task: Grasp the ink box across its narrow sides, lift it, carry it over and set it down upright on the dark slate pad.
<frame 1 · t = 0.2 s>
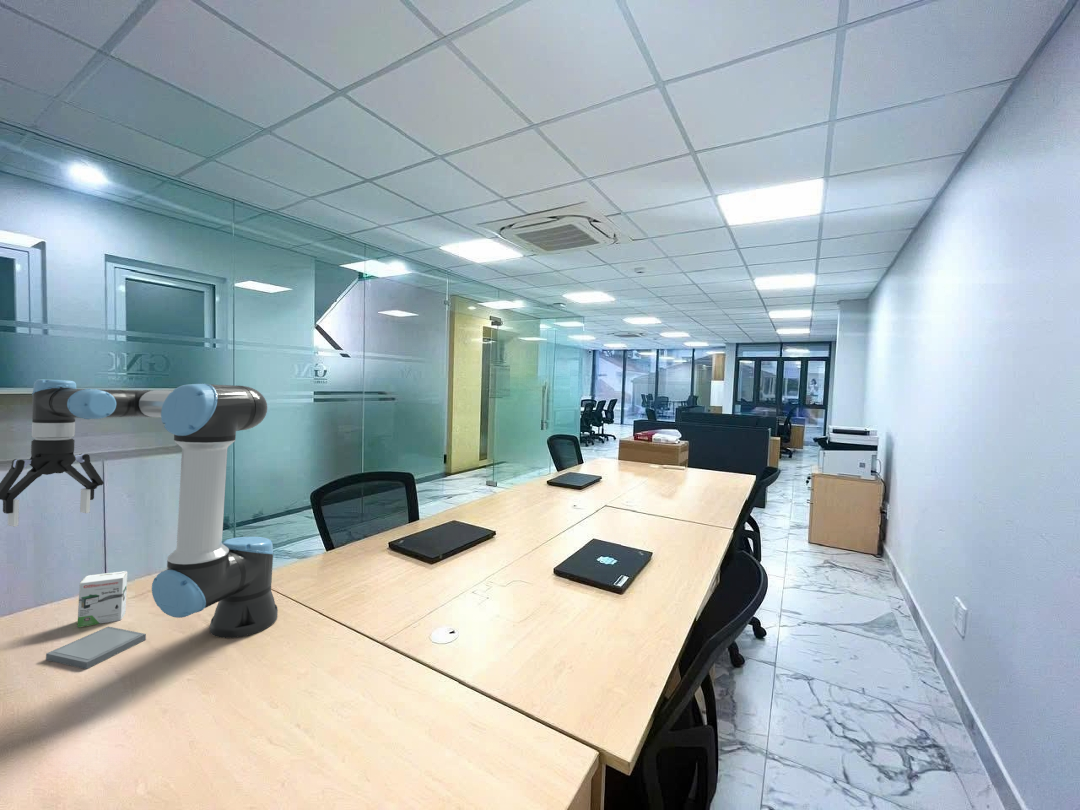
hand: (51, 518, 113), 27 cm above the table, fingers open, 13 cm apart
slate pad: (98, 649, 103), on the table
ink box: (102, 620, 115), on the table
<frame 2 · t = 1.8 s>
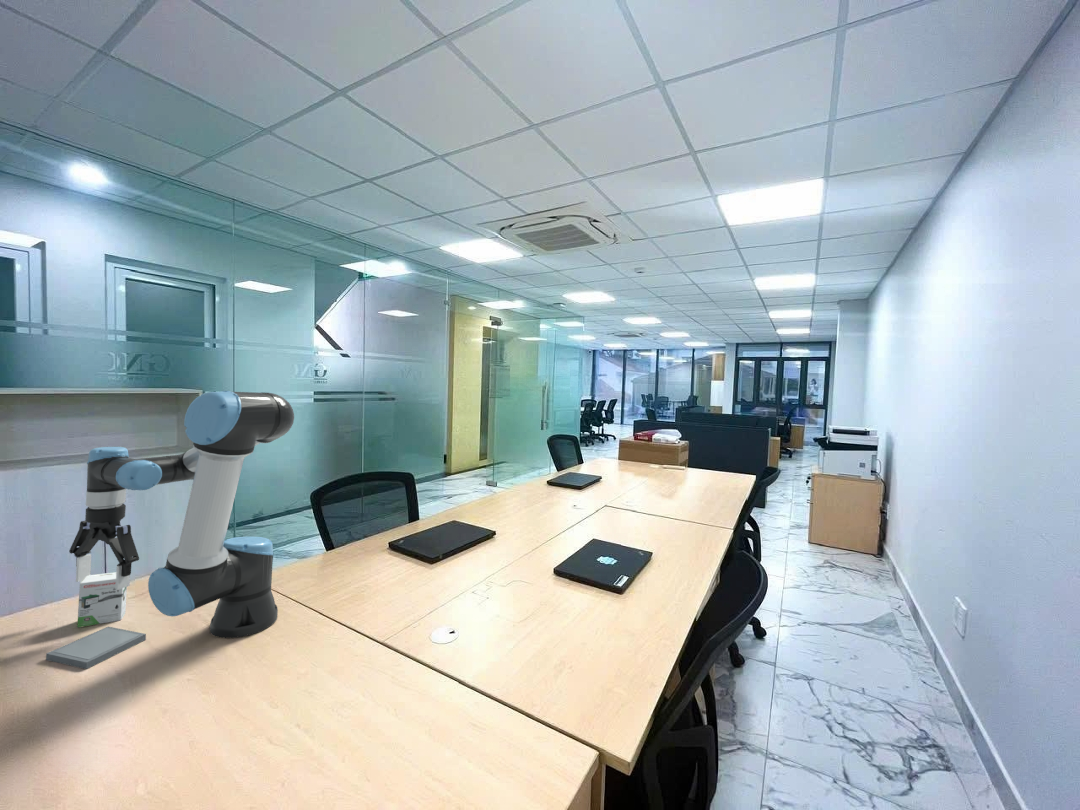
hand: (102, 583, 115), 10 cm above the table, fingers open, 13 cm apart
nothing on the table moved.
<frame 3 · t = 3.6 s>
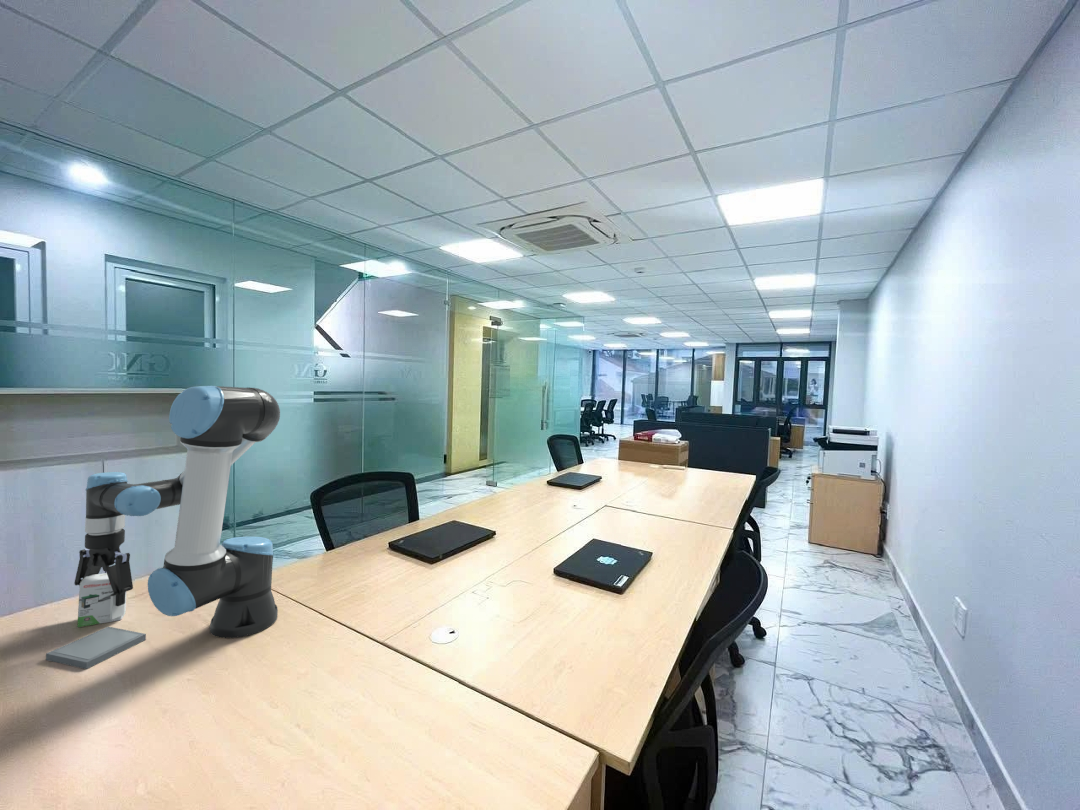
hand: (102, 614, 115), 2 cm above the table, fingers closed on ink box, 9 cm apart
ink box: (102, 620, 115), on the table, touching gripper
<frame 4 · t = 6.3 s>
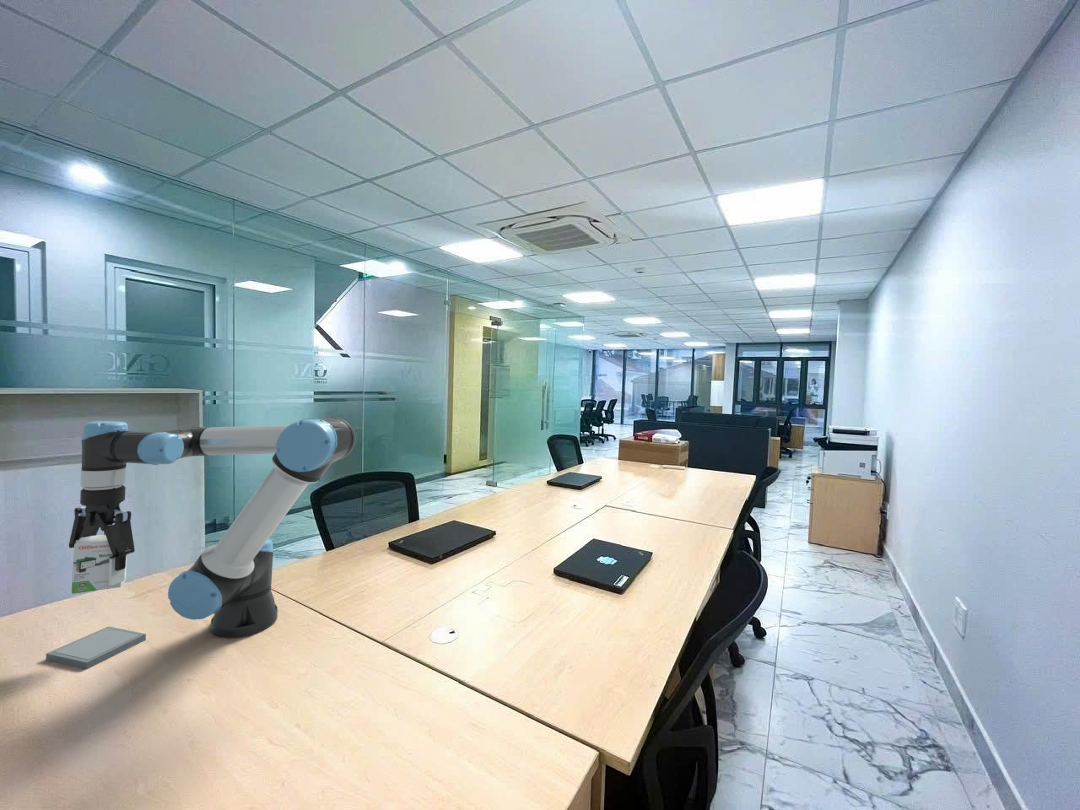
hand: (100, 580, 102), 17 cm above the table, fingers closed on ink box, 9 cm apart
ink box: (99, 587, 102), point 15 cm above the table, touching gripper
when the fingers open (5 cm above the table, at t = 9.2 s): ink box drops 2 cm, resting on slate pad.
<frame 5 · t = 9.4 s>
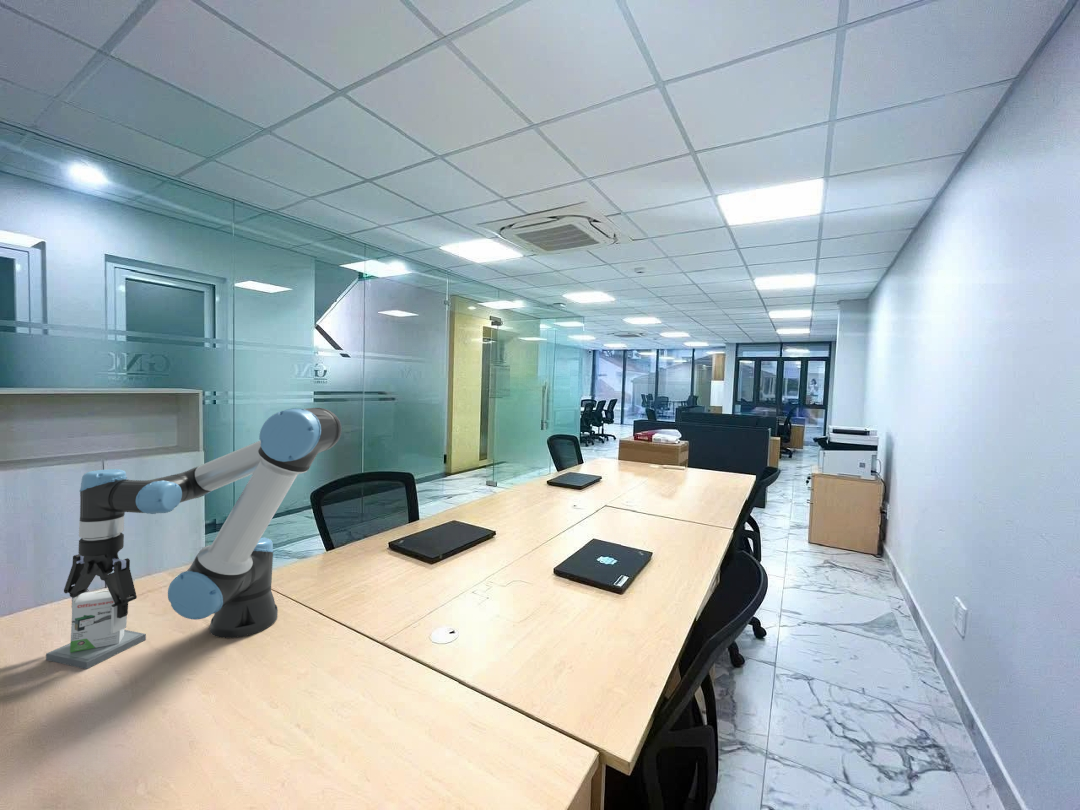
hand: (98, 626, 103), 6 cm above the table, fingers open, 11 cm apart
ink box: (98, 643, 103), point 1 cm above the table, touching slate pad
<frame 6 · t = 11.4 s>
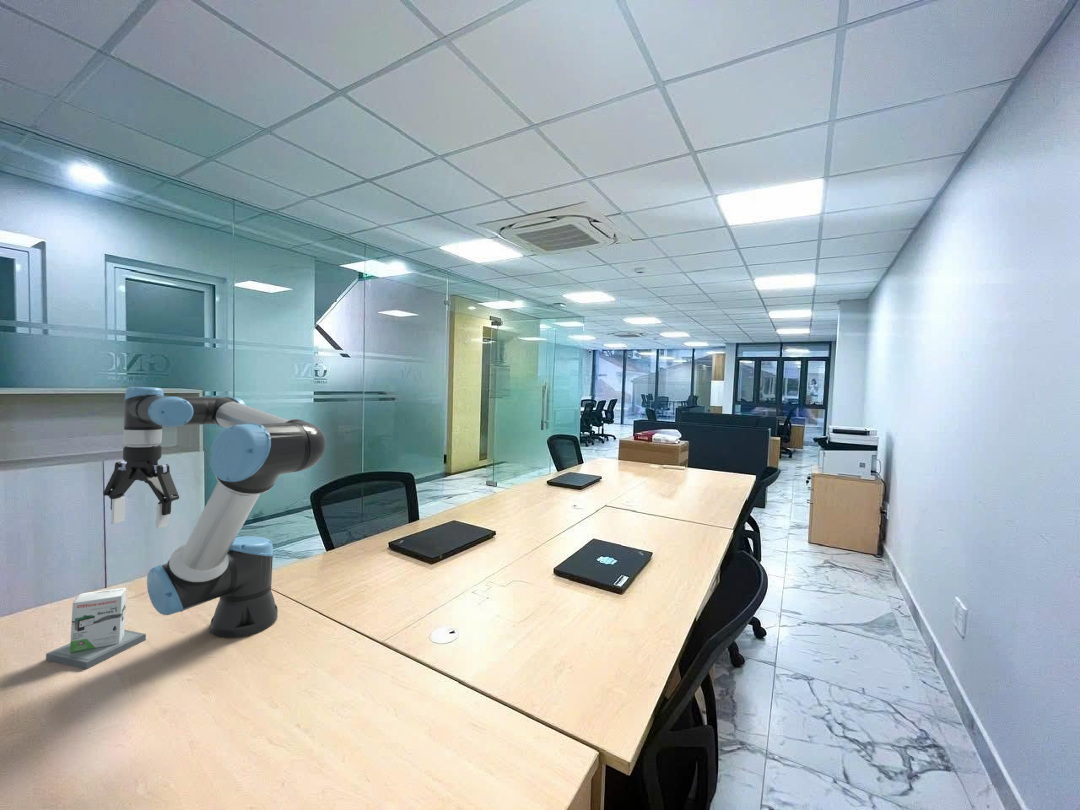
hand: (140, 524, 114), 26 cm above the table, fingers open, 13 cm apart
nothing on the table moved.
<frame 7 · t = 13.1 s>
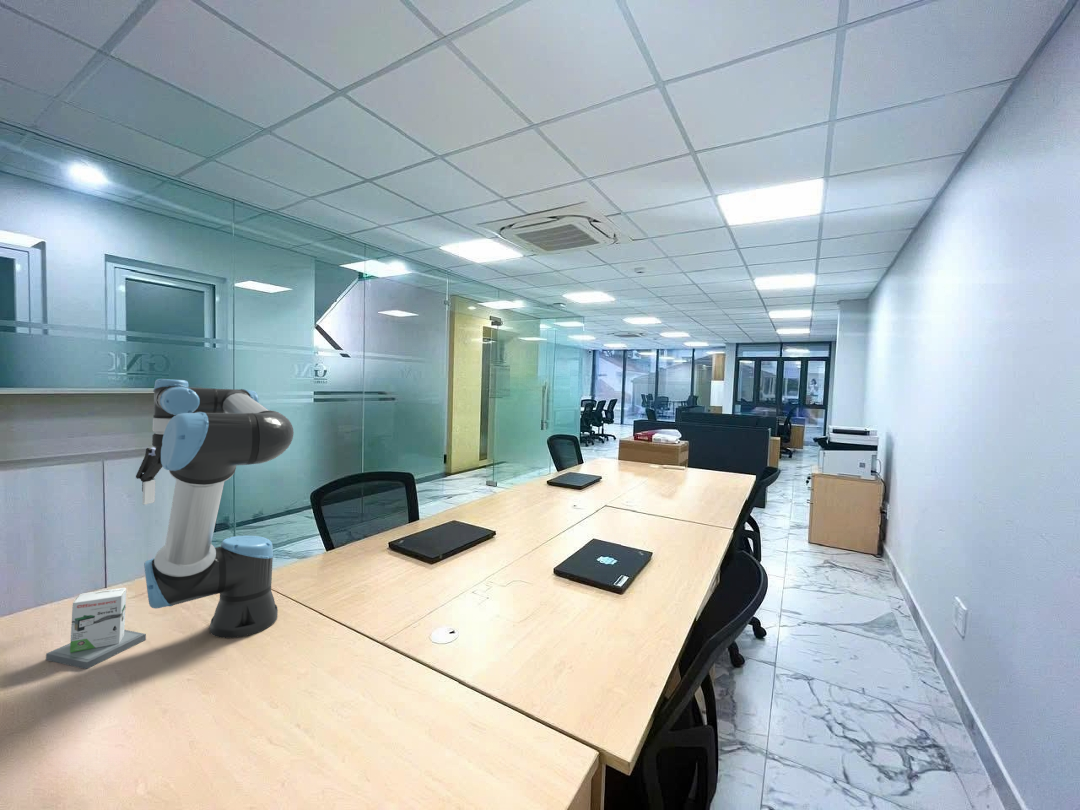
hand: (167, 505, 124), 29 cm above the table, fingers open, 13 cm apart
nothing on the table moved.
at the end: ink box inside the target area on the slate pad (0.1 cm from its centre), point 1.4 cm above the slate pad's base; ink box tilted 0°; the gripper is holding nothing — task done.
